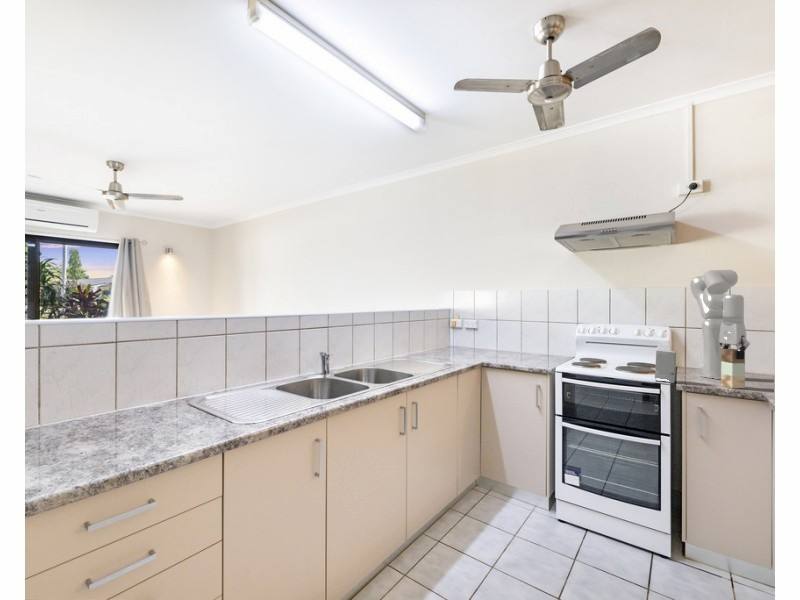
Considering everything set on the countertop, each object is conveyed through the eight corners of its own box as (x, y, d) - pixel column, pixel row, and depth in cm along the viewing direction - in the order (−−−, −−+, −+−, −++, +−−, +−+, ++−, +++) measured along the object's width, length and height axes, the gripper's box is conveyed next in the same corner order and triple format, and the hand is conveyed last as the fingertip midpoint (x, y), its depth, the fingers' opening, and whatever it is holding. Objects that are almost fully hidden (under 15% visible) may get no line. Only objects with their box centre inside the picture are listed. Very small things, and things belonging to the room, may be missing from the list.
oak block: (721, 385, 182) (721, 373, 182) (733, 385, 182) (733, 373, 182) (732, 388, 176) (732, 376, 176) (744, 388, 176) (745, 376, 176)
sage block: (721, 373, 182) (721, 361, 182) (733, 373, 182) (733, 361, 182) (732, 376, 176) (732, 363, 176) (745, 376, 176) (745, 363, 176)
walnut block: (721, 361, 182) (721, 348, 182) (733, 361, 182) (733, 348, 182) (732, 363, 176) (732, 350, 176) (744, 363, 176) (745, 350, 176)
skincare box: (654, 381, 192) (654, 350, 192) (656, 379, 197) (656, 349, 197) (675, 383, 186) (675, 351, 186) (676, 381, 192) (676, 350, 192)
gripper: (710, 319, 188) (710, 355, 188) (742, 321, 170) (741, 361, 170) (725, 319, 188) (724, 355, 188) (758, 321, 170) (758, 361, 170)
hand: (733, 357), depth 179 cm, fingers open, 6 cm apart
